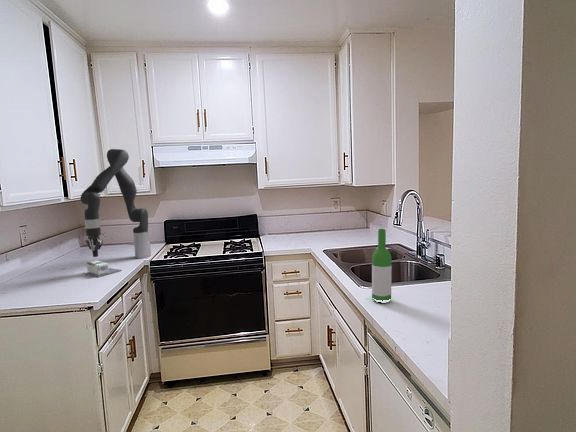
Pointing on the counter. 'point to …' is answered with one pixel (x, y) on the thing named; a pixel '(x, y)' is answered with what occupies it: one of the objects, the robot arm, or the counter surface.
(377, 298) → the wine bottle
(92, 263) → the syrup box
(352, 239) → the counter surface
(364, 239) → the counter surface
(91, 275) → the mat
